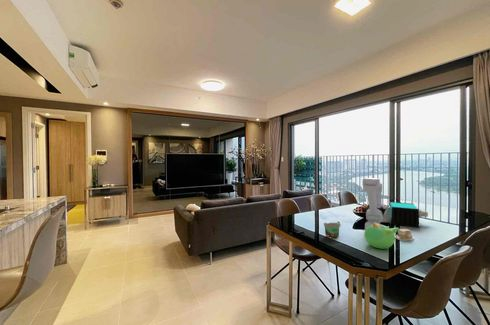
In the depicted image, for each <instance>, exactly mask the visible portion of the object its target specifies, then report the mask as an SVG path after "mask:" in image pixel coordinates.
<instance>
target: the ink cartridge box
mask: <svg viewBox="0 0 490 325" xmlns="http://www.w3.org/2000/svg"><path fill="white" fill-rule="evenodd" d="M378 208H381V207H378V206H377V209H378ZM386 208H387V209H386V211H385V212H384V215H383V220H382V222H381V223H391V208H390V206H389V207H387V206H386ZM378 210H379V209H378Z"/></svg>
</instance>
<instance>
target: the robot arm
mask: <svg viewBox="0 0 490 325" xmlns="http://www.w3.org/2000/svg"><path fill="white" fill-rule="evenodd" d="M361 184H362V189H363V191H364V192H366V195H367V200H368V201H367V202H368V207H369V208H368V209H366V211H365V217H366V218H365V219H366V222H365V223H364V231H365V230H366V229H367V227H368V226H370V225H373V224H374V222H376V223H378V224H381V223H383V222H382V220H383V215H384V212H385V211H386V209H387V208H386V207H387V205H386V204H383V202H382V201H383V200H382V193H383V184H382V183H381V179H380V178H379V177H377V178H376V177H375V178H374V177H373V178H372V177H363V178H362V183H361ZM377 207H381V208H378V209H379V210H378V209H377Z"/></svg>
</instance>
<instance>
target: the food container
mask: <svg viewBox="0 0 490 325" xmlns="http://www.w3.org/2000/svg"><path fill="white" fill-rule="evenodd" d="M323 226H324V234H325V237H326V236H327V237H326V238H328V237H331V238H330V239H338V238H339V234H340V227H341V222H340V221H337V222H329V223H328V222H324V223H323ZM337 237H338V238H337Z"/></svg>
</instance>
